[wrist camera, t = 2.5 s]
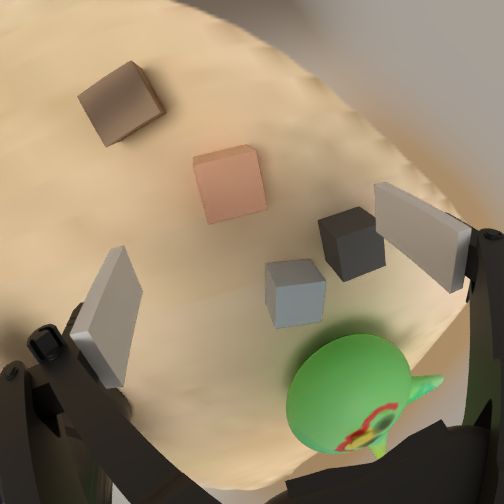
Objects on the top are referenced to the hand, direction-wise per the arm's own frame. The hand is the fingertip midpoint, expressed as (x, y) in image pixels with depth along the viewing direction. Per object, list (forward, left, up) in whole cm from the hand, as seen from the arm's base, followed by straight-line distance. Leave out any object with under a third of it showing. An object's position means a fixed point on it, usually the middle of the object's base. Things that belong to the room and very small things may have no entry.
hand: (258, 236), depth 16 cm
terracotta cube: (0, 0, -15) cm, 15 cm away
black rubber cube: (-9, -11, -15) cm, 21 cm away
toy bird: (-29, -9, -16) cm, 34 cm away
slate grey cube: (-13, -4, -15) cm, 21 cm away
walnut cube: (+9, +7, -15) cm, 19 cm away
